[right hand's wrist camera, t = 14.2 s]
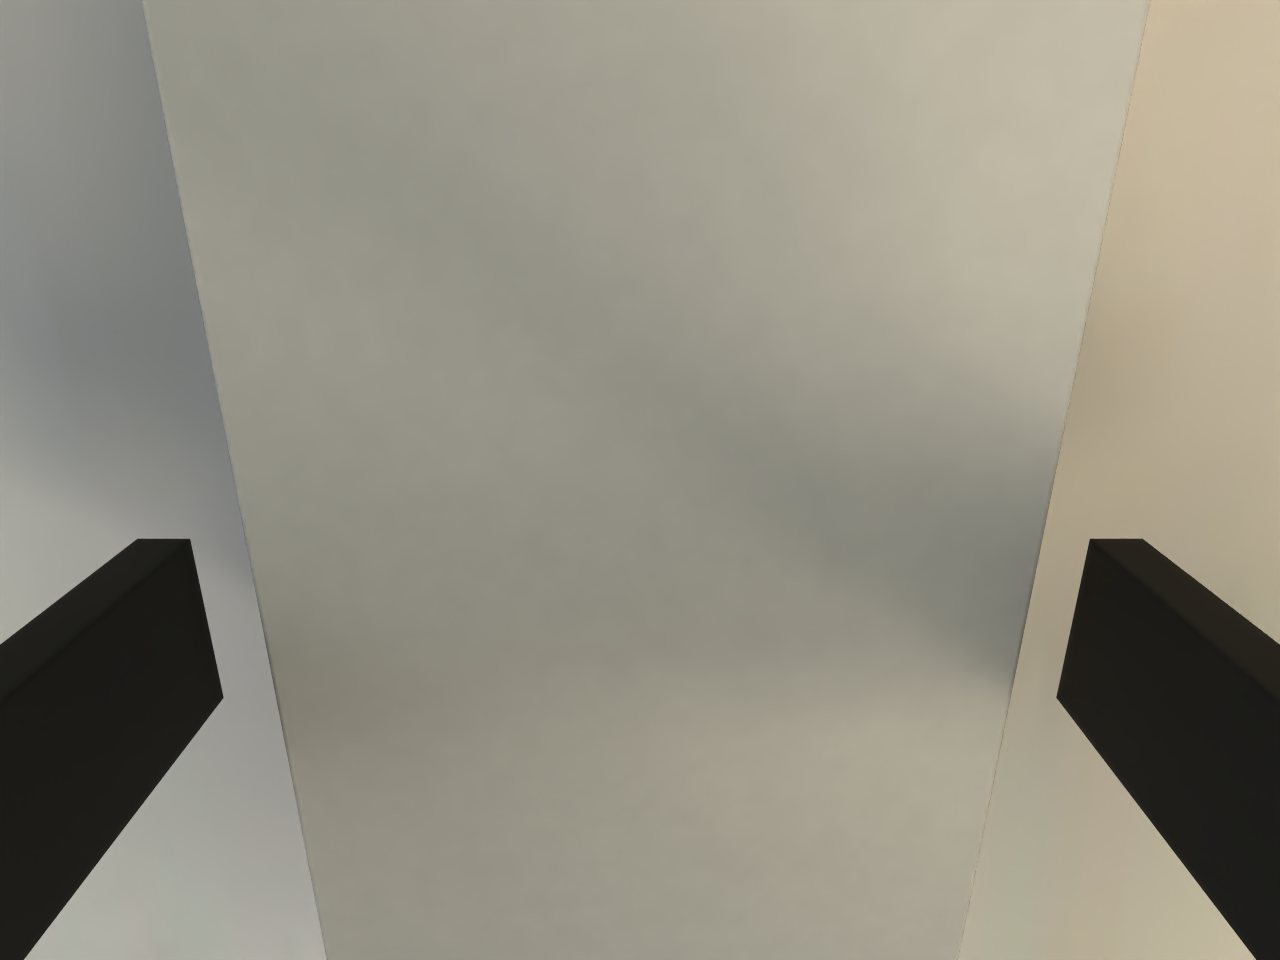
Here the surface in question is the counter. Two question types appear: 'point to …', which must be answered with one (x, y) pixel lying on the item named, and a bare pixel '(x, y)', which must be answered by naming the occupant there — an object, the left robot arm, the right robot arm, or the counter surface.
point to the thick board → (644, 443)
